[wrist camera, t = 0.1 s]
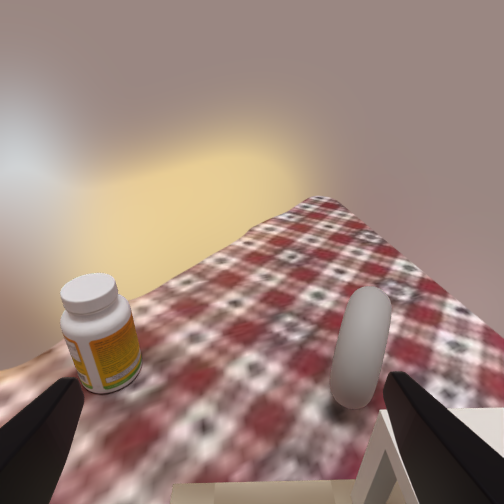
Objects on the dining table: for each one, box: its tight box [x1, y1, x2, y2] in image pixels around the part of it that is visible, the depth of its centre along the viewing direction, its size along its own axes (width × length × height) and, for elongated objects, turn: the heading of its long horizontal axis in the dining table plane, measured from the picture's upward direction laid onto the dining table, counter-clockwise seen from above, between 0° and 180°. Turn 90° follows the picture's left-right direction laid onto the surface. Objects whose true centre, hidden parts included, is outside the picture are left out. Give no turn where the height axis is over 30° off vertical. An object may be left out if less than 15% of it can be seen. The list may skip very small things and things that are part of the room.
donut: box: [330, 286, 392, 409], centre depth 26 cm, size 10×4×10 cm, turn 155°
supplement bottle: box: [60, 273, 142, 393], centre depth 27 cm, size 5×5×10 cm
